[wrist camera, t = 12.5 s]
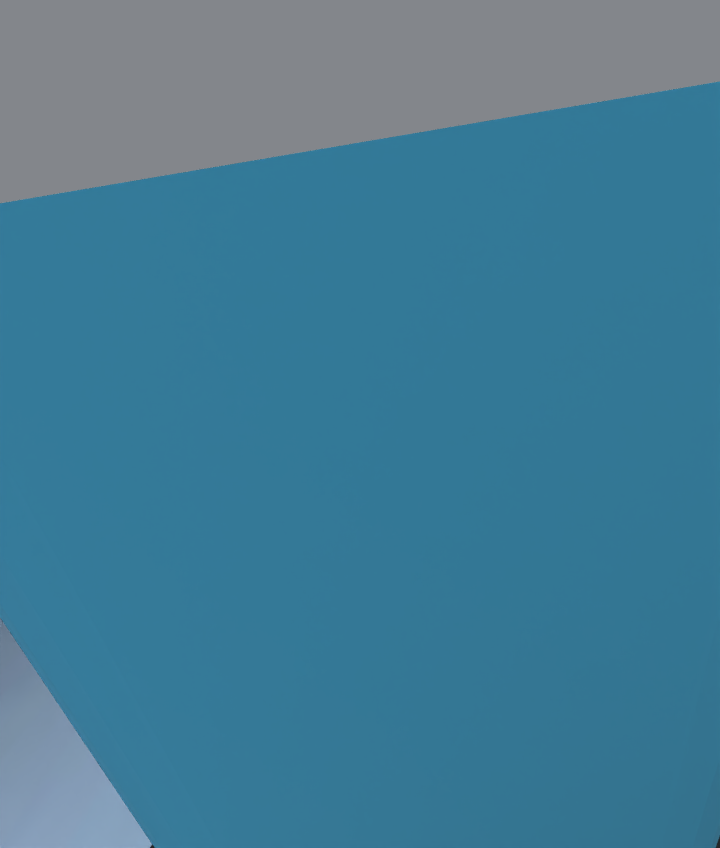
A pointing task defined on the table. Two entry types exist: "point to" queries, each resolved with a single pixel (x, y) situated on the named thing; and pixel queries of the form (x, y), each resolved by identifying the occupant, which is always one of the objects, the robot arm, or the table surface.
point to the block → (381, 484)
